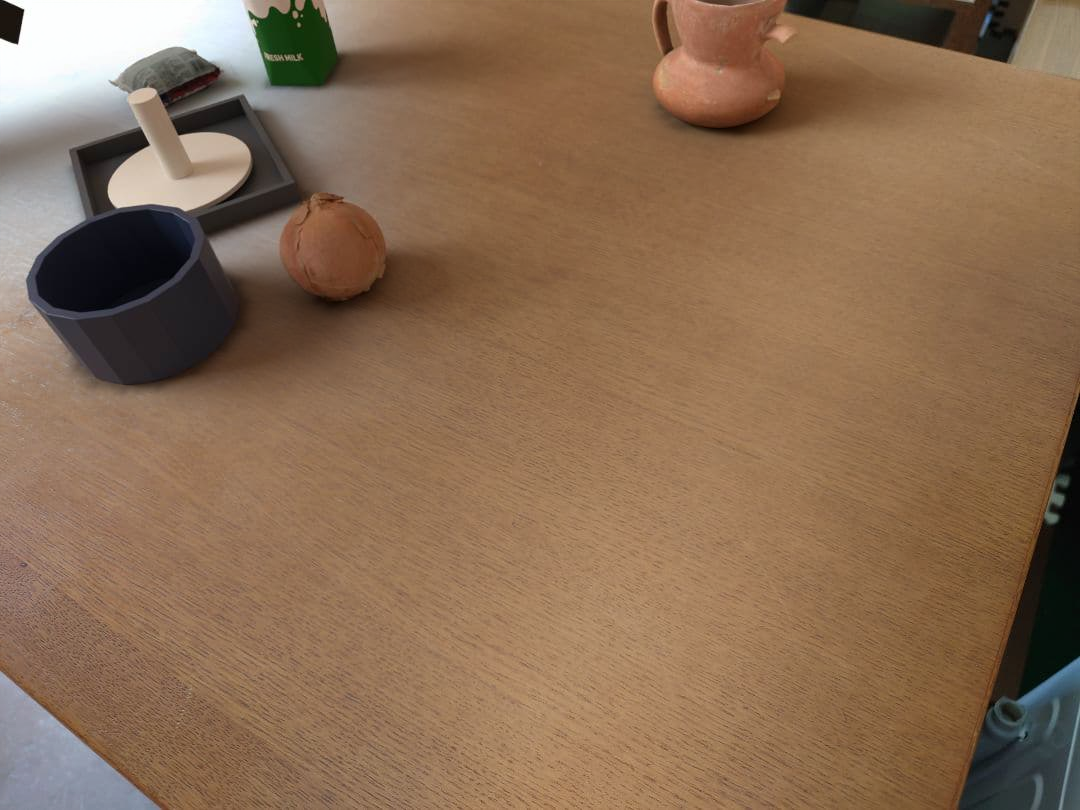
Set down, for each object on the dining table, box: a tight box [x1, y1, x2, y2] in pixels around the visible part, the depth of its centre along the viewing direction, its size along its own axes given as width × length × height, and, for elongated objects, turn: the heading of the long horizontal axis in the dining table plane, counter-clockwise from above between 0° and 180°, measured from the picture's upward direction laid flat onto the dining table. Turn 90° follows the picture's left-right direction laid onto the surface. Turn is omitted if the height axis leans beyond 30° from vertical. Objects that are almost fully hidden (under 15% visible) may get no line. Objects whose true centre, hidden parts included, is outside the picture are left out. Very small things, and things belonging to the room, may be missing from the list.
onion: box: [279, 191, 387, 302], centre depth 71 cm, size 10×9×10 cm
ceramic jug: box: [651, 0, 798, 129], centre depth 84 cm, size 18×14×14 cm
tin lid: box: [108, 88, 253, 215], centre depth 83 cm, size 16×16×10 cm
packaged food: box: [107, 46, 225, 107], centre depth 99 cm, size 9×12×5 cm
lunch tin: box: [25, 204, 240, 385], centre depth 69 cm, size 15×15×8 cm
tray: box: [68, 93, 302, 235], centre depth 86 cm, size 22×21×3 cm
